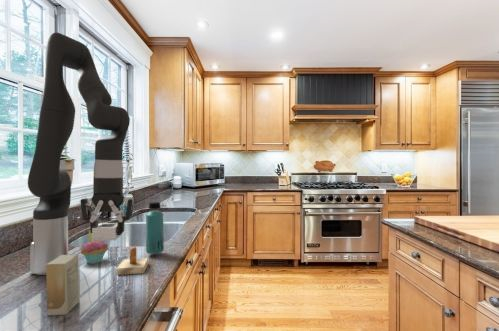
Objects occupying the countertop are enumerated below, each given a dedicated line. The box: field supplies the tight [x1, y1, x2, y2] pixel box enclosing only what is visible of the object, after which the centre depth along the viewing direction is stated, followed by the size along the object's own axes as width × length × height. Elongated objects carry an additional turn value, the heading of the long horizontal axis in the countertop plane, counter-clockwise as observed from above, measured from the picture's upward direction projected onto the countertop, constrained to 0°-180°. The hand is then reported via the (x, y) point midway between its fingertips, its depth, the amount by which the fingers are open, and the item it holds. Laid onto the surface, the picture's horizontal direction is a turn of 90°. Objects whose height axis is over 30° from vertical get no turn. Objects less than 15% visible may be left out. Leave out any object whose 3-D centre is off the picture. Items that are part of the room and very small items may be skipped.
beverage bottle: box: [145, 201, 165, 255], centre depth 106 cm, size 6×7×20 cm
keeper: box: [116, 246, 149, 276], centre depth 92 cm, size 8×8×7 cm
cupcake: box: [80, 228, 109, 265], centre depth 100 cm, size 9×8×12 cm
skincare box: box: [46, 254, 80, 316], centre depth 68 cm, size 6×4×12 cm
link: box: [91, 222, 123, 242], centre depth 80 cm, size 6×6×4 cm
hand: (107, 234), depth 80 cm, fingers closed on link, 6 cm apart
